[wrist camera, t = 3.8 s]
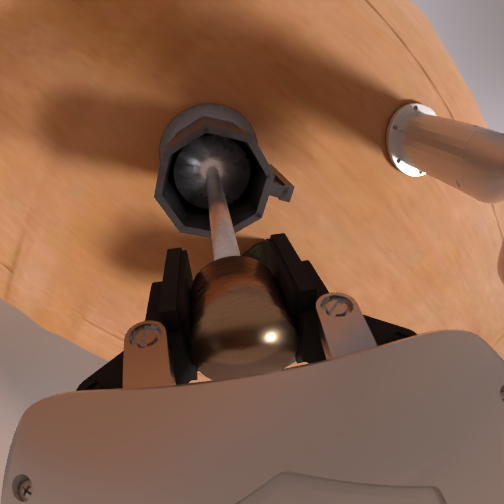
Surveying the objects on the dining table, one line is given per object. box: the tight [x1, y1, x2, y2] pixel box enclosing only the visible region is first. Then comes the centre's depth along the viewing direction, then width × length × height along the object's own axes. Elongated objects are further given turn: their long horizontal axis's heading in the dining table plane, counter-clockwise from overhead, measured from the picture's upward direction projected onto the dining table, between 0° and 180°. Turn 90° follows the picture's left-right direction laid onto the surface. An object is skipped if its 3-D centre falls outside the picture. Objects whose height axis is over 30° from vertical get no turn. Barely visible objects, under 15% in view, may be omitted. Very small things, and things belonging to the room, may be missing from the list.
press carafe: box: [154, 104, 294, 238], centre depth 31 cm, size 14×13×17 cm
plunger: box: [174, 135, 299, 380], centre depth 18 cm, size 7×7×22 cm
